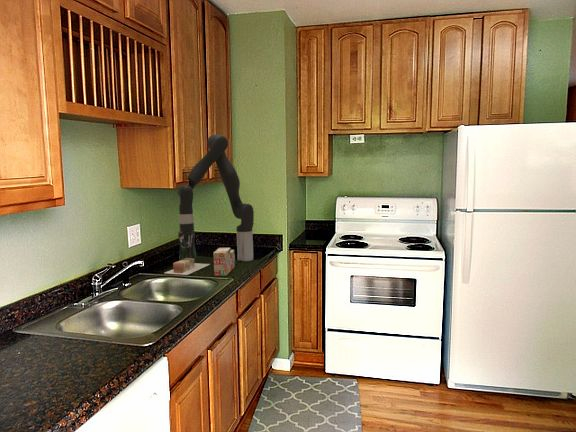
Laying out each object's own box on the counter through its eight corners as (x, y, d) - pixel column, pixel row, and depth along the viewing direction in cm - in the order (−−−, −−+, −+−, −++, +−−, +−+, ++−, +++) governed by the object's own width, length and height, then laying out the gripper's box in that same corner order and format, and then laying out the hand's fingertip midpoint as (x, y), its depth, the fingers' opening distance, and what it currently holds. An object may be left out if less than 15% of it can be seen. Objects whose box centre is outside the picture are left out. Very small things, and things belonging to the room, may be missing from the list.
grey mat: (189, 264, 247) (188, 262, 247) (210, 265, 243) (210, 264, 243) (163, 274, 225) (163, 273, 225) (186, 276, 220) (186, 274, 220)
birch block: (186, 258, 236) (173, 263, 225) (194, 258, 235) (181, 263, 223) (186, 267, 237) (173, 272, 226) (194, 267, 235) (182, 273, 224)
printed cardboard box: (224, 266, 241) (223, 244, 240) (235, 266, 241) (234, 244, 239) (214, 276, 220) (213, 252, 219) (226, 276, 220) (225, 252, 218)
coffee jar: (198, 259, 259) (196, 228, 257) (194, 262, 251) (192, 230, 249) (182, 259, 260) (180, 228, 258) (178, 262, 252) (176, 231, 250)
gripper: (187, 220, 239) (188, 251, 241) (173, 223, 227) (175, 256, 229) (199, 220, 237) (200, 252, 239) (185, 224, 224) (187, 257, 226)
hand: (188, 254), depth 234 cm, fingers closed
